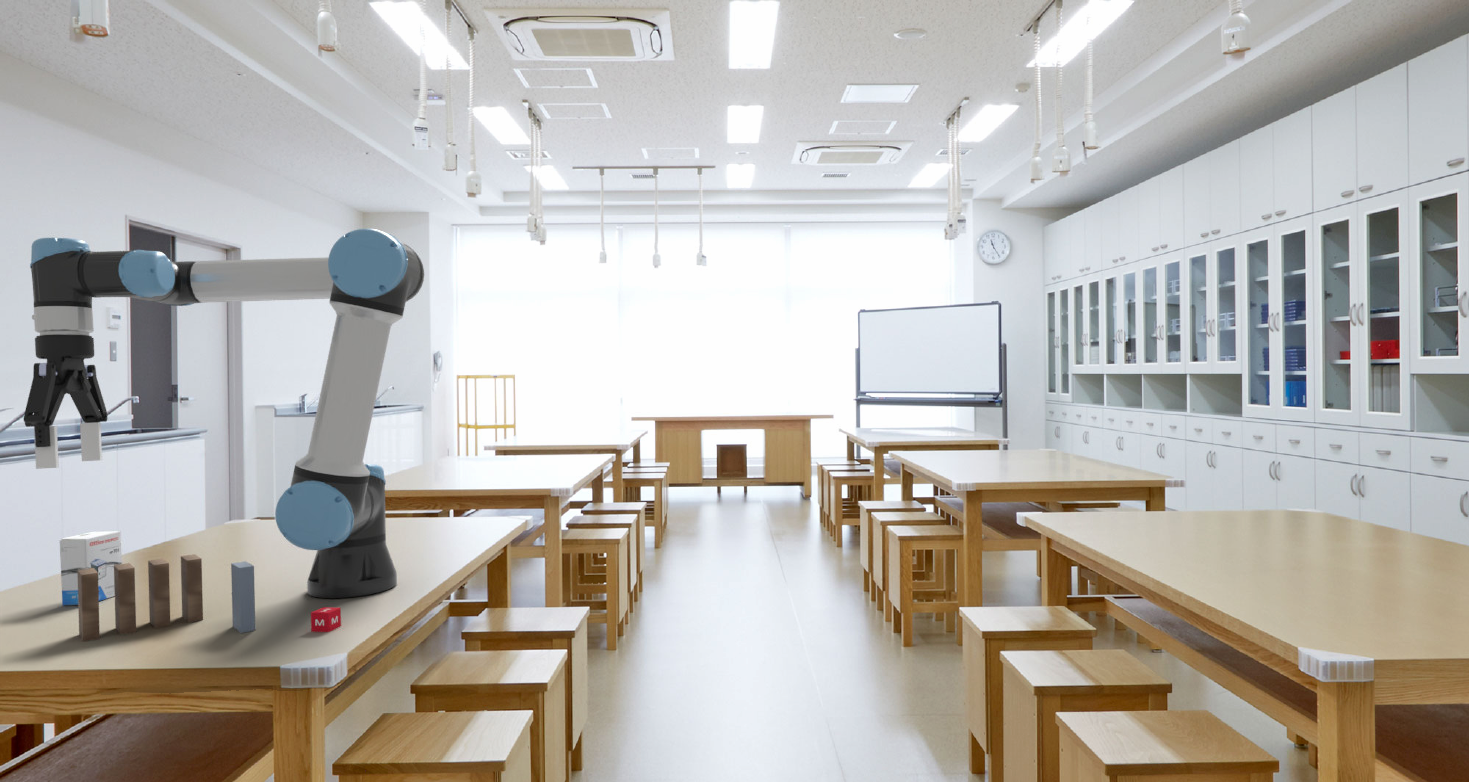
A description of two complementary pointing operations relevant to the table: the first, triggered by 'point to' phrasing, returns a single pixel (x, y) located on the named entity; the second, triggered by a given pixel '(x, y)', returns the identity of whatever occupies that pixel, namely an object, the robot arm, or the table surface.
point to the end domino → (88, 604)
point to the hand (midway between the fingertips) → (70, 464)
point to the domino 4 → (243, 596)
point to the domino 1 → (125, 598)
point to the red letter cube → (325, 619)
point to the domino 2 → (159, 593)
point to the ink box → (89, 562)
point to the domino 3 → (191, 588)
